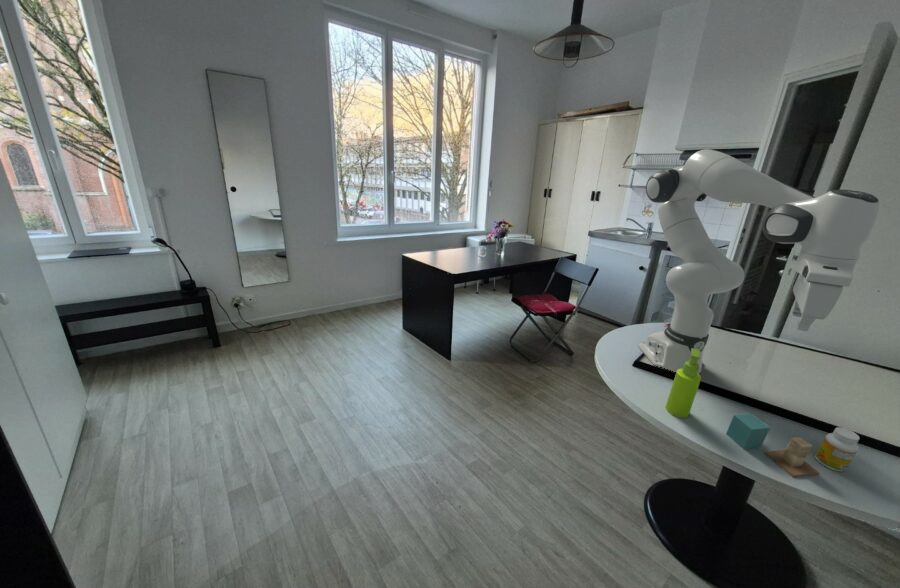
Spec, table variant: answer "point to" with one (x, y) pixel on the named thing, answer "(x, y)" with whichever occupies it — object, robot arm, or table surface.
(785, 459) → the wooden block stand
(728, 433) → the teal rectangular block
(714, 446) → the table surface
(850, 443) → the supplement bottle
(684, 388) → the soap dispenser
